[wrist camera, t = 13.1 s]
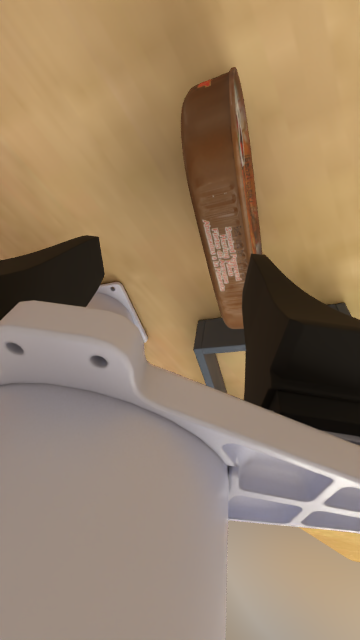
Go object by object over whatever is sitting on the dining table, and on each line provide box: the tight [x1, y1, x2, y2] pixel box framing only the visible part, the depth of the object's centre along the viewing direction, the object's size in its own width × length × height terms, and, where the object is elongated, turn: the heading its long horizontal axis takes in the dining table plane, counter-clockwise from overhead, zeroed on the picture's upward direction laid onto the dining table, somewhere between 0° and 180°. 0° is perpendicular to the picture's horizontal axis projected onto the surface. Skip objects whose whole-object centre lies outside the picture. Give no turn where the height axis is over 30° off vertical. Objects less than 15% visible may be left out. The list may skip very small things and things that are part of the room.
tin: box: [181, 67, 262, 329], centre depth 17 cm, size 15×3×8 cm, turn 16°
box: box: [193, 303, 352, 394], centre depth 30 cm, size 14×20×4 cm
